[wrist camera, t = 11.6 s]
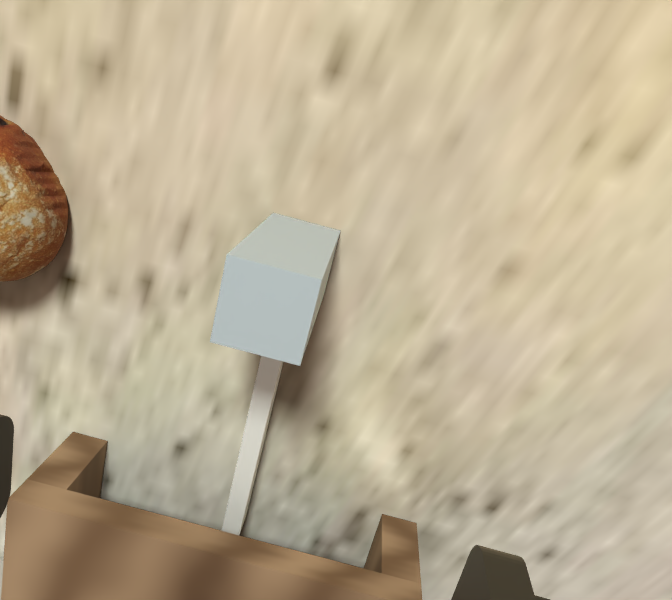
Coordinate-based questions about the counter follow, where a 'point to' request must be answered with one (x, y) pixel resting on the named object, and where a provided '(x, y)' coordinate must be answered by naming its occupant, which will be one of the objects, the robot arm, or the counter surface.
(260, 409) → the mallet tool
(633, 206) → the counter surface
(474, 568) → the robot arm
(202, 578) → the riser
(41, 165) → the bread roll
